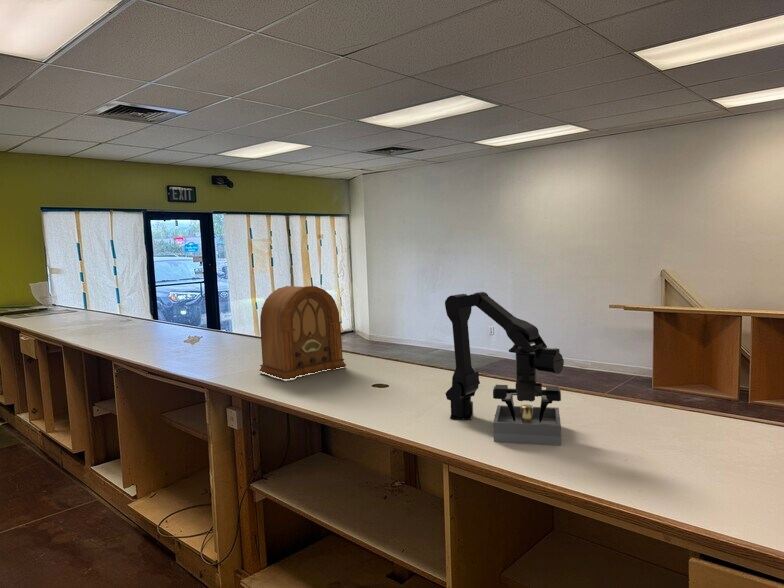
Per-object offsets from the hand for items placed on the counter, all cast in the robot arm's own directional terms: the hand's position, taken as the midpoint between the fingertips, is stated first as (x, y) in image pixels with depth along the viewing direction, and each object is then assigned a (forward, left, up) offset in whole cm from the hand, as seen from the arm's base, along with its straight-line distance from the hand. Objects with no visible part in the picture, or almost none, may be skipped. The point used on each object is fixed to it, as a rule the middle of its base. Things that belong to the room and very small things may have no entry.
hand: (527, 421), depth 150 cm
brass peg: (0, 0, -4) cm, 4 cm away
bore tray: (0, 0, -4) cm, 4 cm away
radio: (-103, +66, -4) cm, 122 cm away
